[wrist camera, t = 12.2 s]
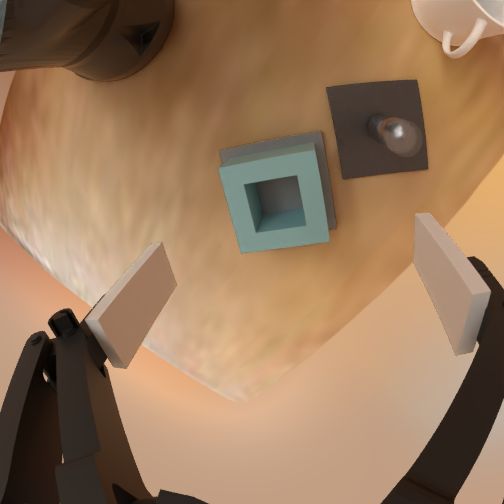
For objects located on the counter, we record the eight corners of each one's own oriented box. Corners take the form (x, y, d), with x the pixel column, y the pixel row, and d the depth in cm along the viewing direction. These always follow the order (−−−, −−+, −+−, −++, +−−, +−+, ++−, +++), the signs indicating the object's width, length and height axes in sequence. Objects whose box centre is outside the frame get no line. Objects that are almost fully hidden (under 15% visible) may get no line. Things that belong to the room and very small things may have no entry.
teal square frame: (230, 158, 32) (218, 168, 28) (313, 142, 30) (315, 150, 26) (249, 233, 36) (241, 253, 32) (327, 222, 34) (329, 241, 30)
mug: (452, 81, 24) (512, 82, 14) (388, 36, 24) (428, 9, 13) (484, 12, 19) (541, -6, 8) (424, -32, 18) (466, -72, 8)
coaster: (220, 149, 33) (218, 151, 32) (320, 130, 30) (321, 131, 30) (244, 238, 38) (243, 241, 37) (336, 225, 35) (336, 228, 34)
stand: (326, 87, 28) (333, 82, 20) (415, 79, 25) (450, 76, 18) (342, 178, 32) (354, 205, 24) (427, 168, 30) (461, 192, 22)
